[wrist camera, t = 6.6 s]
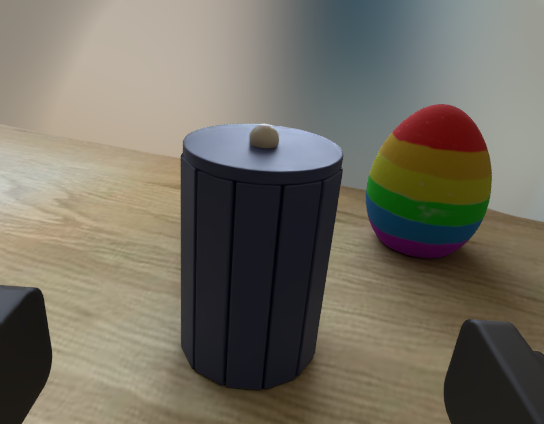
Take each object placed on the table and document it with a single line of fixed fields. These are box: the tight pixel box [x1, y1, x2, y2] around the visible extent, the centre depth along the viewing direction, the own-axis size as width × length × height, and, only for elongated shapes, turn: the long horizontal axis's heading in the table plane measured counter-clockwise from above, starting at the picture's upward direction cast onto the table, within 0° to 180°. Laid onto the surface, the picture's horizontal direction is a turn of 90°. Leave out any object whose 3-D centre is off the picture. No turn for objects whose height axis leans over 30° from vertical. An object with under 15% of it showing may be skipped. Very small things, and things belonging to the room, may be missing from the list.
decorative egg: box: [366, 104, 492, 258], centre depth 32 cm, size 8×8×10 cm
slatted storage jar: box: [181, 124, 343, 390], centre depth 20 cm, size 6×6×11 cm
